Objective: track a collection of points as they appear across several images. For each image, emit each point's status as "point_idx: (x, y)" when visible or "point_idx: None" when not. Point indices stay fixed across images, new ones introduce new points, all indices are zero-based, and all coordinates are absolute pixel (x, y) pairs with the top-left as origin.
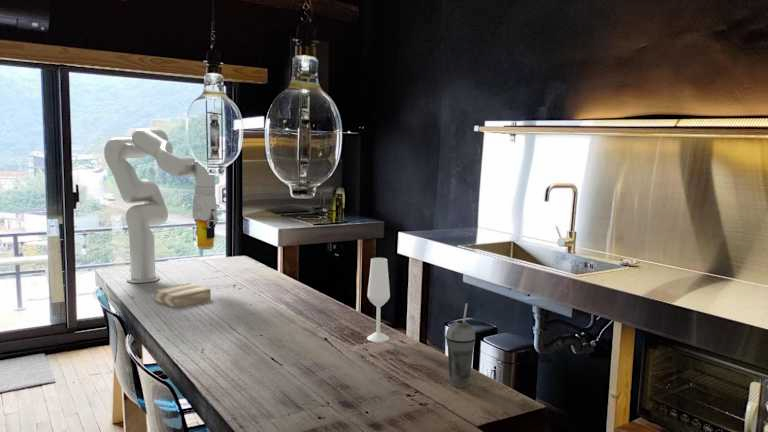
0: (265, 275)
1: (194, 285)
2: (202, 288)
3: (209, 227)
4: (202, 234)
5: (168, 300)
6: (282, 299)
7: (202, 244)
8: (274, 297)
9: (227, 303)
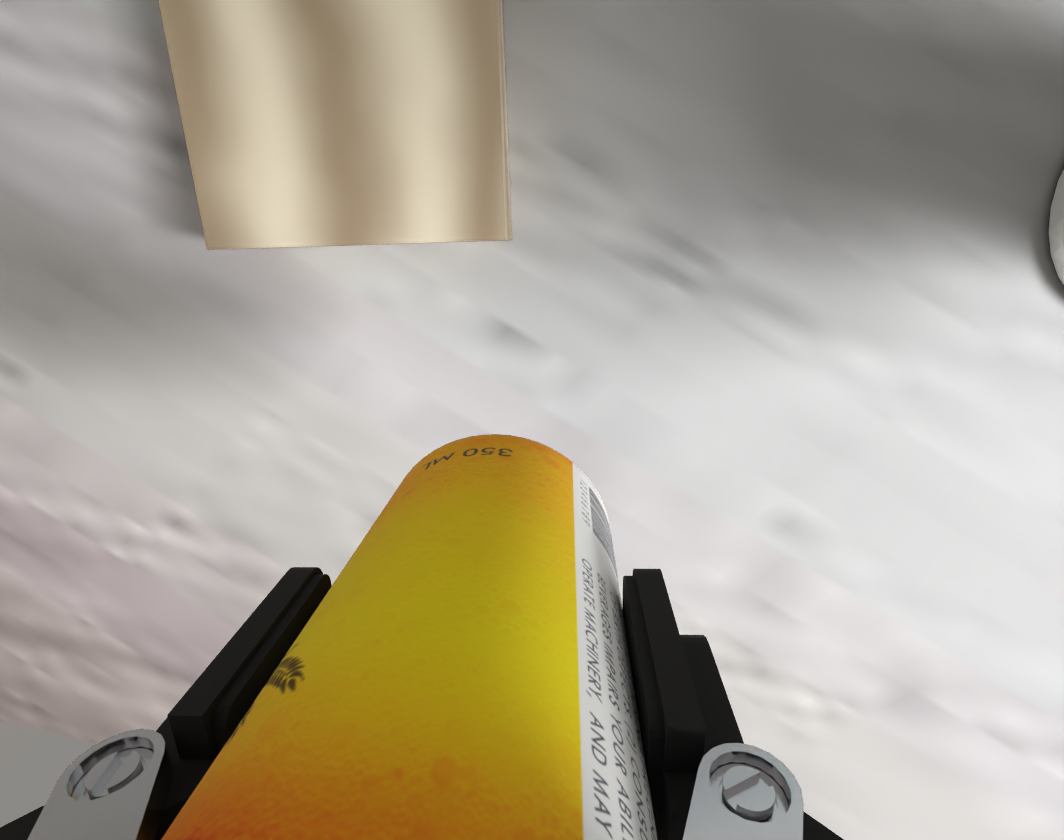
0: None
1: (398, 225)
2: (267, 217)
3: (80, 756)
4: (356, 560)
5: None
6: (19, 551)
7: (418, 473)
8: (83, 548)
9: (106, 279)
